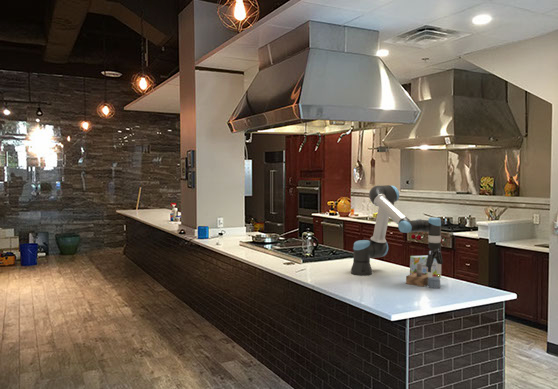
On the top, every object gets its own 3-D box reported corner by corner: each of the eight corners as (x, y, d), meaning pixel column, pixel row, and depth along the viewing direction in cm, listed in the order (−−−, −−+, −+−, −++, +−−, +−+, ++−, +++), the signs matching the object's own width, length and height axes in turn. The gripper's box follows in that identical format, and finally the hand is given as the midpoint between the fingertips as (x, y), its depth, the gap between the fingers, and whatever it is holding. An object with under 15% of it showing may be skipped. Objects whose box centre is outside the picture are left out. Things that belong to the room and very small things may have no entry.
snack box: (413, 279, 330) (414, 257, 330) (409, 277, 336) (409, 255, 335) (441, 277, 336) (441, 255, 335) (436, 275, 341) (436, 254, 341)
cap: (426, 287, 307) (426, 277, 306) (430, 285, 312) (431, 276, 312) (437, 288, 302) (437, 279, 302) (441, 286, 307) (441, 277, 307)
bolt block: (406, 283, 316) (406, 263, 316) (414, 280, 325) (414, 261, 325) (423, 286, 308) (423, 266, 308) (431, 283, 317) (431, 263, 317)
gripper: (432, 244, 294) (432, 279, 294) (448, 240, 313) (448, 273, 313) (420, 243, 299) (420, 277, 299) (437, 239, 318) (436, 272, 318)
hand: (434, 275), depth 306 cm, fingers open, 13 cm apart
